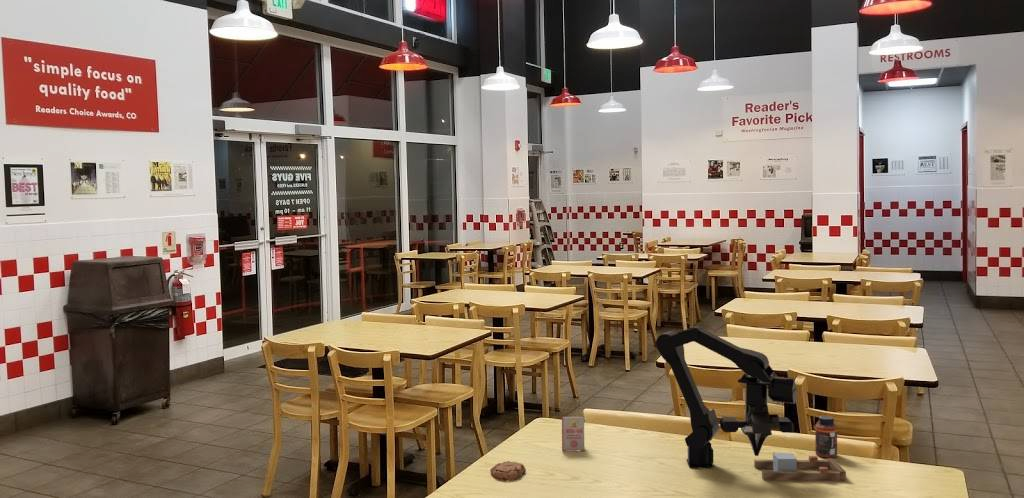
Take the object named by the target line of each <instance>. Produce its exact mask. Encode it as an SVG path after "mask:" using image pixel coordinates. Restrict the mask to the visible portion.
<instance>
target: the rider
mask: <svg viewBox="0 0 1024 498" xmlns="http://www.w3.org/2000/svg"><path fill="white" fill-rule="evenodd" d="M772 460H773V468H772V471H798V470H797V460H798V459H797V458H796V456H795V455H794V454H793V452H772Z"/></svg>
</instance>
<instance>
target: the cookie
mask: <svg viewBox="0 0 1024 498" xmlns="http://www.w3.org/2000/svg"><path fill="white" fill-rule="evenodd" d="M489 472H490V474H491V475H492V477H493V479H495V480H500V481H506V482H508V481H509V482H510V481H513V480H517V479H519V478H520V477H522V475H523V474H524V473H527V469H526V467H525V466H524V464H523V463H519V462H517V461H516V462H515V461H509V460H507V461H503V462H499V463H497V464H495V465H494V466H493V467H491V468H490V470H489Z"/></svg>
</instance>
